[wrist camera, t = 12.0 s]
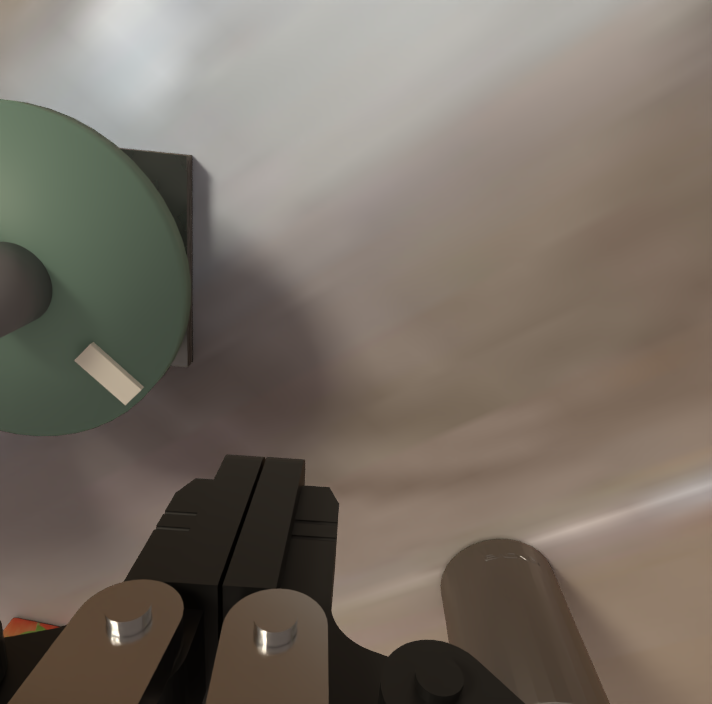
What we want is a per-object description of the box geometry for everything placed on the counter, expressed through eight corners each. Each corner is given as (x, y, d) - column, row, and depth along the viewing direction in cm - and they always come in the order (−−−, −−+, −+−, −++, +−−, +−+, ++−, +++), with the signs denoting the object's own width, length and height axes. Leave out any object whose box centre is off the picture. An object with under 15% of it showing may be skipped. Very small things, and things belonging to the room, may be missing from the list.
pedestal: (192, 361, 41) (160, 400, 34) (-4, 342, 40) (-73, 377, 34) (192, 155, 36) (154, 156, 30) (-30, 132, 36) (-116, 129, 29)
